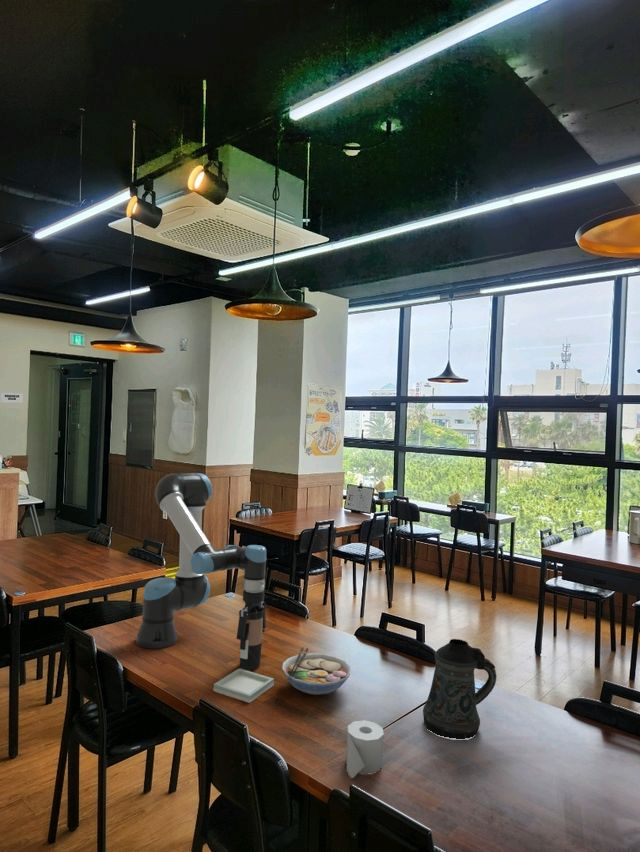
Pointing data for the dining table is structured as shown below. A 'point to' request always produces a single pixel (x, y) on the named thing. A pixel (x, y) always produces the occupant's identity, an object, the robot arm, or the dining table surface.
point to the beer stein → (457, 690)
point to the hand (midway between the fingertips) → (250, 653)
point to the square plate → (243, 685)
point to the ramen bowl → (316, 672)
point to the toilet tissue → (364, 747)
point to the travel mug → (253, 641)
